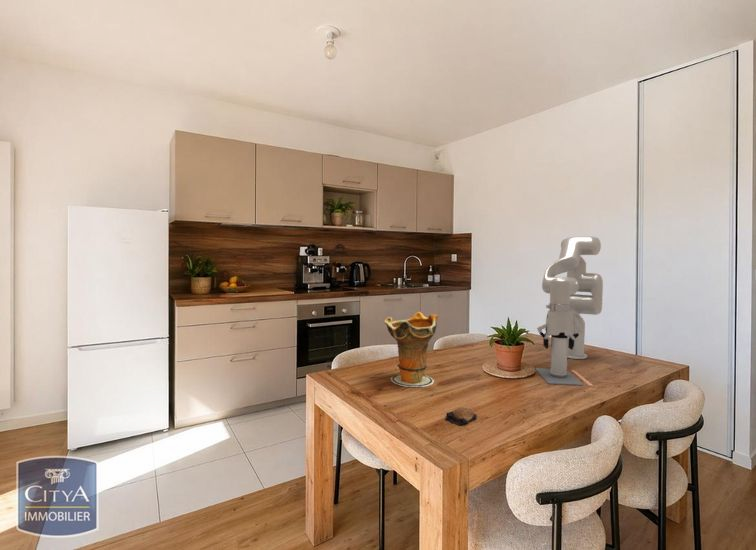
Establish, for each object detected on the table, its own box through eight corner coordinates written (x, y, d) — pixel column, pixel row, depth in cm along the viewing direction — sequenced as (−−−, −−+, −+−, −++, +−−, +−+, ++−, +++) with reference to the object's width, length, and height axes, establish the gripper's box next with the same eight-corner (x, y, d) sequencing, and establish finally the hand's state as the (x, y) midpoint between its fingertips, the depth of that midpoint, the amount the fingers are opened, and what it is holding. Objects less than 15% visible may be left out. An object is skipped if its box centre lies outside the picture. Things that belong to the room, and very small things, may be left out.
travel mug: (568, 375, 163) (570, 328, 161) (563, 379, 158) (565, 331, 157) (553, 372, 167) (554, 326, 166) (548, 375, 162) (549, 329, 161)
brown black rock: (457, 411, 128) (458, 400, 128) (481, 418, 123) (481, 407, 123) (440, 421, 121) (440, 409, 120) (464, 429, 115) (464, 417, 115)
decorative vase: (373, 380, 156) (375, 312, 155) (408, 371, 173) (410, 309, 172) (413, 393, 142) (417, 318, 141) (447, 381, 159) (450, 314, 158)
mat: (535, 369, 173) (535, 368, 173) (565, 370, 171) (565, 369, 171) (548, 384, 153) (548, 382, 153) (583, 385, 151) (583, 384, 151)
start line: (571, 370, 171) (571, 370, 171) (574, 370, 171) (574, 370, 171) (589, 386, 151) (589, 385, 151) (593, 386, 151) (593, 385, 151)
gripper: (540, 308, 158) (539, 349, 159) (585, 309, 156) (583, 351, 157) (535, 306, 165) (534, 345, 166) (578, 307, 163) (576, 346, 164)
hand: (558, 348), depth 161 cm, fingers open, 9 cm apart
